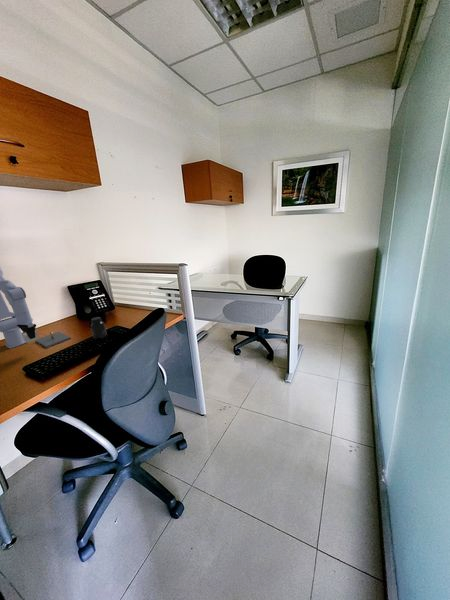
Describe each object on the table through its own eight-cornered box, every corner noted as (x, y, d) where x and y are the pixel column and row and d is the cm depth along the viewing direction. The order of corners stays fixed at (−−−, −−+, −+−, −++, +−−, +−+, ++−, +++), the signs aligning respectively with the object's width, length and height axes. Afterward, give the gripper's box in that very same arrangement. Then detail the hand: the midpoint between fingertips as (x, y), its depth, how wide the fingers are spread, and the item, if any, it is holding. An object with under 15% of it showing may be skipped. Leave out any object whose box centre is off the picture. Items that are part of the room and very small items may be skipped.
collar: (24, 340, 121) (21, 333, 120) (35, 336, 125) (33, 329, 124) (27, 342, 118) (24, 335, 117) (39, 338, 122) (36, 331, 121)
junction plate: (35, 341, 135) (33, 333, 134) (59, 333, 145) (56, 325, 143) (47, 348, 126) (44, 339, 125) (70, 338, 136) (68, 330, 134)
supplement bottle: (108, 338, 132) (103, 318, 129) (94, 342, 129) (88, 322, 125) (106, 334, 138) (102, 315, 134) (93, 337, 135) (88, 318, 131)
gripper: (7, 312, 118) (16, 337, 122) (16, 317, 110) (26, 343, 114) (24, 308, 123) (32, 331, 128) (34, 312, 115) (43, 337, 119)
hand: (30, 337), depth 121 cm, fingers closed on collar, 5 cm apart
